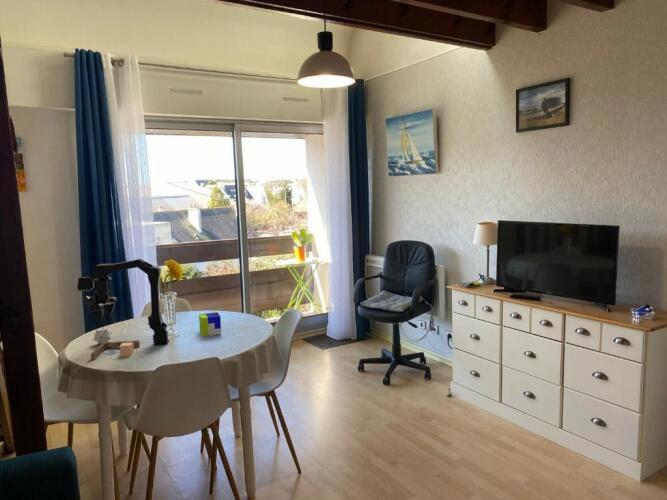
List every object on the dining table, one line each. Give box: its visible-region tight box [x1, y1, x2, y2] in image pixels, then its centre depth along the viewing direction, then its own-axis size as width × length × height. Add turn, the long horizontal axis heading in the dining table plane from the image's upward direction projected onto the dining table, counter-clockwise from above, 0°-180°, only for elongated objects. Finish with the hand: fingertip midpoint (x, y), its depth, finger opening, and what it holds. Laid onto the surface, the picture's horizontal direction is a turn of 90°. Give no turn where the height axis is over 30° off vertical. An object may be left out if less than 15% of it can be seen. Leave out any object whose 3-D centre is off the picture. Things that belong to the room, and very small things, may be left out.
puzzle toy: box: [198, 311, 222, 337], centre depth 272 cm, size 10×10×10 cm
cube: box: [119, 342, 135, 357], centre depth 238 cm, size 5×5×5 cm
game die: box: [92, 327, 112, 345], centre depth 255 cm, size 9×8×10 cm
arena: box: [90, 340, 141, 361], centre depth 240 cm, size 17×19×3 cm
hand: (104, 320), depth 248 cm, fingers open, 9 cm apart
